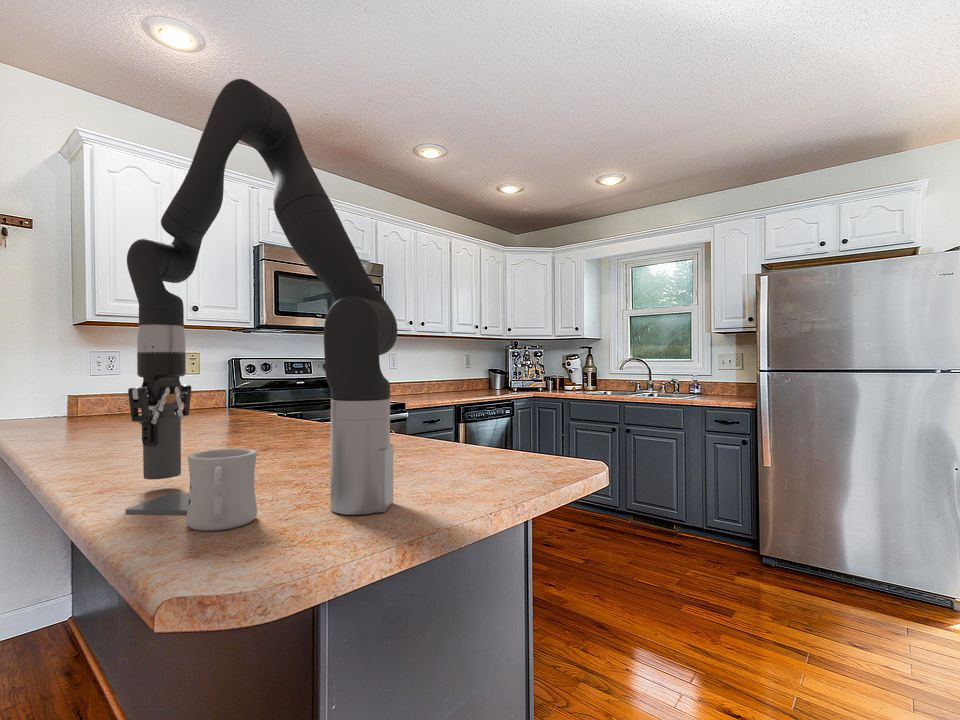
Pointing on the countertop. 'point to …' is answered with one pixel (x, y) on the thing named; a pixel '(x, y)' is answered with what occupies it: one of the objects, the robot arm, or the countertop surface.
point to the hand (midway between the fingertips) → (162, 442)
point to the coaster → (163, 505)
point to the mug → (221, 489)
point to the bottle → (164, 444)
